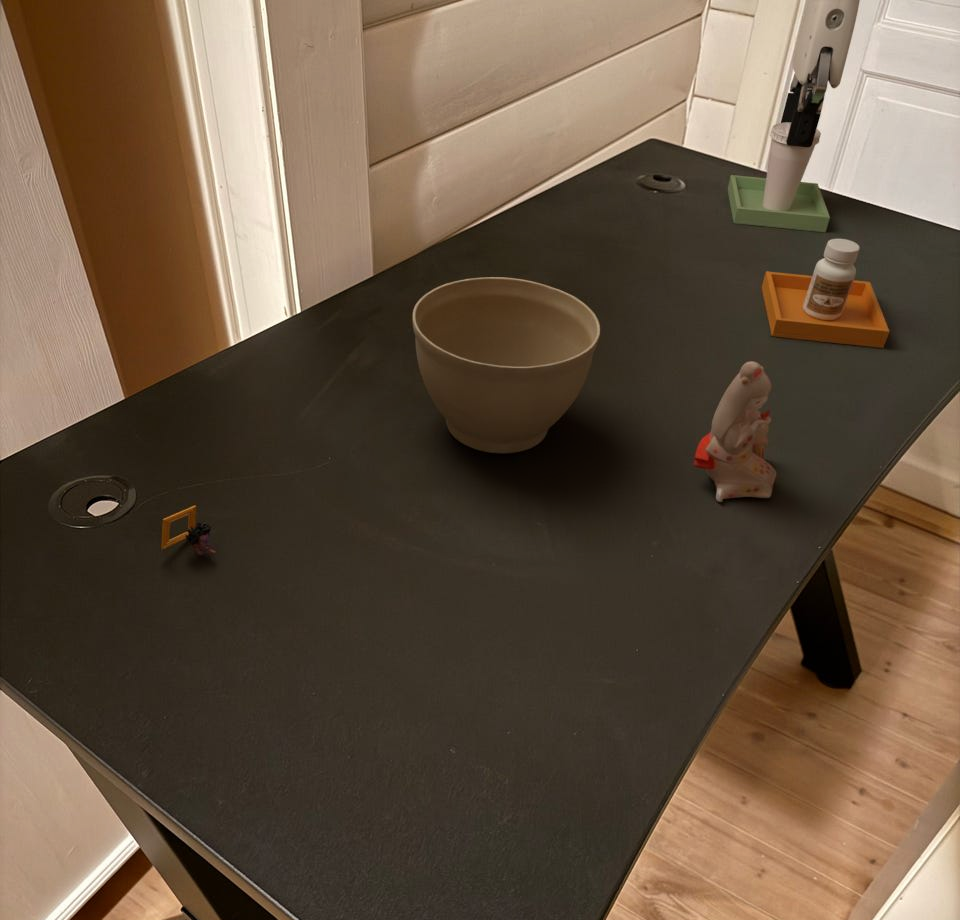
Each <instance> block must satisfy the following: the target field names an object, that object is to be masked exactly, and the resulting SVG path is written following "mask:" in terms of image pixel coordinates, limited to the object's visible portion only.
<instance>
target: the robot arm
mask: <svg viewBox="0 0 960 920" xmlns="http://www.w3.org/2000/svg"><path fill="white" fill-rule="evenodd" d="M860 1H861V0H806V4H805V8H804V11H803V15H802V19H801V21H800V22H801V23H800V26H799V29H798V34H797V39H796V42H795V47H794V51H793V57H792V62H791V63H792V65H791V66H792V69H793V72H794V74H793V77H792V79H791V83H790V86H789V92H787V96H786V99H785V104H784V108H783V111H782V116H781V119H780V123H785V122H791V125H790V129H789V133H788V137H787V141H786V143H787V145H788V146H798V147H811V146H812V143H813V140H814V136H815V133H816V129H818V125H819V121H820V118H821V115H822V111H823V107H824V106H823V105H824V101H825V96H826V92H827V89H828V83H829V85H830V87H831V88H832V89H836V88H838V87H839V86H840V84H841V82H842V78H843V74H844V69H845V66H846V62H847V58H848V54H849V50H850V46H851V42H852V39H853V34H854V29H855V26H856V21H857V18H858V17H857V16H858V12H859V6H860V3H861V2H860ZM807 91H808V92H809V94H807ZM806 94H807V97H806ZM805 99H806V100H805Z"/></svg>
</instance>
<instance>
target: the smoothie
mask: <svg viewBox="0 0 960 920" xmlns="http://www.w3.org/2000/svg"><path fill="white" fill-rule="evenodd" d="M807 94H809V92H808V91H807ZM807 94H806V97H807ZM805 100H806V99H805ZM790 125H791V122H785V123H781V122H778V123H775V124H773V125H772V127H771V130H770V133H769V137H770V138H771V140H770V141H771V142H770V146H769V156H768V161H767V162H768V163H767V171H766V177H765V178H766V184H765V192H764V199H763V207H764V208H766V209H768V210H777V211H788V210H789V209H790V207H791V205H792V202H793V200H794V197H795V195H796V192H797V190H798V187H799V185H800V182H802V180H803V177H804V175H805V172H806V170H807V167H808V164H809V162H810V159H811V157H812V155H813V152H814V150H815V148H816V145H818V144H819V143H820V138H821V136H822V134H821V133H822V132H821V131H820V130H819V129H818V128H817V129H816V133H815V136H814V140H813V143H812V146H811V147H798V146H788V145H787V143H786V141H787V137H788V133H789V129H790Z"/></svg>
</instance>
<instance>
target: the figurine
mask: <svg viewBox="0 0 960 920" xmlns="http://www.w3.org/2000/svg"><path fill="white" fill-rule="evenodd" d="M771 391H772V383H771V380H770V378H769V376H768V375H767V374H766V372H765V367H763V366H762V365H760V364H759V362H757V361H747V362H745V363H744V364H743V365H742V366H741V367H740V370H739V372H738V373H737V375H736V376H735V377H734V379H732V381H731V382H730V384H729V385H728V387H727V388H726V390H725V392H724V393H723V395H722V397H721V399H720V401H719V403H718V405H717V407H716V409H715V411H714V414H713V418H712V422H711V430H710V432H708V433H707V434H706V435H705V436H703V437H702V438H701V440H700V441H699V443H698V445H697V448H696V450H695V454H694V464H693V465H694V467H695V468H696V467H697V468H699V469H705V471H706V474H707V476H708V477H709V478H710V479H711V480H712V481H713V483H714V485H715V489H716V494H715V500H716V501H717V502H719V503H722V502H723V500H727V499H735V498H750V497H751V498H757V499H769V498H771V496H772V493H773V487H774V483H775V479H776V477H777V471H776V469H775V468H774V467H773V466H772V465H771V464H770V463H769V462H767V461H766V460H765V446H768V445H769V444H770V442H769V441H770V440H769V437H768V433H769V431H770V427H769V424H770V423H771V422H772V418H771V416H770V412H771V409H768V410H767V411H765V412H761V411H760V410H759V409H761V408H763V406H764V405H765V404H766V402H767V401H768V397H769V393H770V392H771Z"/></svg>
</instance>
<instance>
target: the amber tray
mask: <svg viewBox="0 0 960 920" xmlns="http://www.w3.org/2000/svg"><path fill="white" fill-rule="evenodd" d="M812 276H813V275H805V274H798V273H797V274H796V273H788V272H787V273H786V272H777V271H768V270H766V271H765V274H764V277H763V281H762V284H761V291H762V296H763V301H764V306H765V311H766V315H767V316H766V317H767V320H768V324H769V325H768V326H769V331H770V334H771V337H774V338H775V337H776V338H782V339H783V338H784V339H795V340H804V341H813V342H814V341H815V342H821V343H830V344H831V343H832V344H842V345H851V346H859V347H870V348H878V349H883V348H884V347H885V344H886V342H887V339H888V336H889V335H890V329H889V327H888V323H887V321H886V319H885V315H884V313H883V311H882V309H881V306H880V304H879V301H878V299H877V295H876V293H875V291H874V289H873V285H872V283H871V282H870V281H865V280H857V279H856V280H855V279H854V281H853V283H852V286H851V289H850V292H849V295H848V298H847V301H846V304H845V306H844V309H843V312H842V314H841V316H840V317H839V318H837V319H834V320H821V319H816V318H814V317H811V316H809V315H808V314H807V313H806V312H805V311H804V309H803V304H804V301H805V298H806V295H807V292H808V289H809V285H810V282H811V279H812Z"/></svg>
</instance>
